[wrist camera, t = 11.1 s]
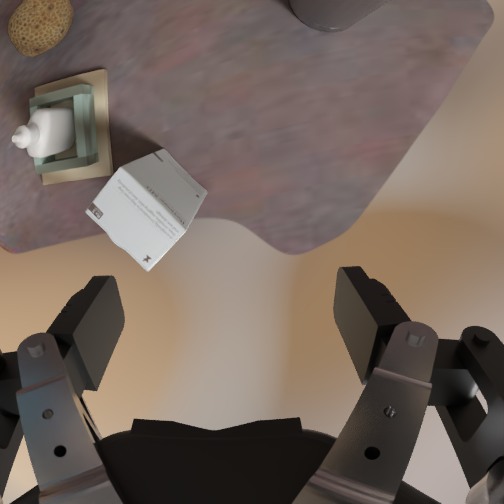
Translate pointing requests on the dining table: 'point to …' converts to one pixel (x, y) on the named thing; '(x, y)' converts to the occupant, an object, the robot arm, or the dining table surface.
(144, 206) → the skincare box
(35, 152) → the eye dropper bottle
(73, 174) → the frame
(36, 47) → the natural sponge
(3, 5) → the dining table surface
